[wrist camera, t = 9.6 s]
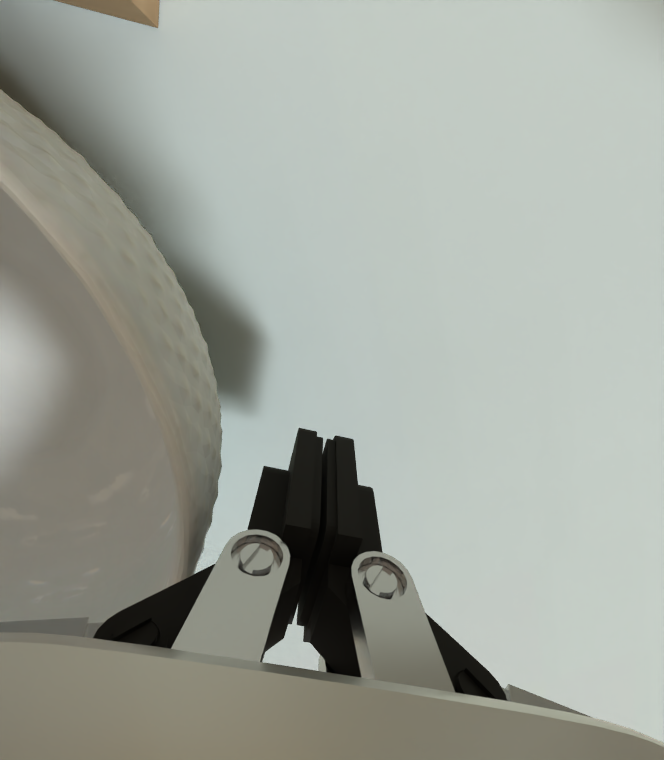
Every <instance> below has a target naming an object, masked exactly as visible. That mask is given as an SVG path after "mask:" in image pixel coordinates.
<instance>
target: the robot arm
mask: <svg viewBox="0 0 664 760" xmlns="http://www.w3.org/2000/svg"><path fill="white" fill-rule="evenodd" d="M322 451H323V438H321V437H317V432H316V431H311V430H307V429H302V428H299V429H298V433H297V437H296V441H295V445H294V449H293V453H292V457H291V461H290V465H289V469H288V471H286V470H281V469H277V468H272V467H267V466H264V468H263V471H262V475H261V479H260V483H259V487H258V491H257V495H256V499H255V503H254V507H253V510H252V514H251V518H250V522H249V526H248V530H246V531H243V532H240V533H238V534H236V535H235V536H233V537H231V539H230V540H229V541H228V542H227V544H226V545H225V547H224V549H223V551H222V553H221V555H220V556H219V558H218V560H217V562H216V564H214V565H212V566H210V567H208V568H206V569H204V570H202V571H200V572H198V573H196V574H194V575H192V576H190V577H188V578H186V579H184V580H182V581H180V582H178V583H176V584H174V585H172V586H170V587H168V588H166V589H164V590H162V591H160V592H158V593H155V594H153V595H151V596H149V597H147V598H145V599H143V600H141V601H139V602H137V603H135V604H133V605H131V606H129V607H127V608H125V609H123V610H121V611H119V612H118V613H116V614H115V615H113V616H112V617H110V618H108V619H107V620H106V621H105V622H100V623H89V617H83V618H65V619H46V620H28V621H9V622H0V760H664V743H663V742H661V741H658V740H656V739H653V738H651V737H649V736H646V735H644V734H642V733H639V732H637V731H635V730H632V729H629V728H626V727H623V726H620V725H617V724H613V723H610V722H607V721H604V720H600V719H595V718H592V717H590V716H587V715H585V714H582V713H580V712H577V711H575V710H572V709H570V708H567V707H565V706H562V705H560V704H557V703H555V702H552V701H550V700H547V699H545V698H542V697H540V696H537V695H535V694H532V693H530V692H527V691H525V690H522V689H520V688H517V687H515V686H512V685H510V684H508V685H507V687H506V688H505V689H504V688H502V687H501V686H500V684H499V683H498V681H497V680H496V679H495V678H494V677H493V676H492V675H491V673H490V672H489V671H488V670H487V669H486V668H485V667H483V666H482V665H481V664H480V663H479V662H478V661H477V660H476V659H475V658H474V657H473V656H472V655H470V654H469V653H468V652H467V651H466V650H465V649H464V648H463V647H462V646H461V645H460V644H459V643H457V642H456V641H455V640H454V639H453V638H452V637H451V636H450V635H449V634H448V633H447V632H446V631H445V630H443V629H442V628H441V627H440V626H439V625H438V624H437V623H436V622H435V621H434V620H433V619H432V618H430V617H429V616H428V615H427V614H426V613H425V611H424V608H423V606H422V603H421V600H420V598H419V595H418V592H417V590H416V587H415V584H414V582H413V579H412V577H411V575H410V573H409V572H408V570H407V569H406V568H405V567H404V565H403V564H402V563H401V562H399V561H398V560H397V559H395V558H394V557H392V556H390V555H387V554H385V553H382V546H381V540H380V533H379V526H378V519H377V512H376V506H375V499H374V492H373V489H372V488H371V487H366V486H361V485H358V481H357V471H356V460H355V450H354V440H353V439H349V438H345V437H340V436H335V437H334V439H333V440H331V439H327V441H326V444H325V447H324V451H323V454H322ZM297 605H298V614H297V625H300V626H304V639H303V642H309V643H311V644H312V645H313V646H314V648H315V649H316V650H317V651H318V652H319V654H320V657H319V664H318V670H319V671H315V670H308V669H302V668H295V667H289V666H282V665H276V664H269V663H263V658H264V654H265V652H266V651H267V650H268V649H270V648H271V647H272V646H274V645H275V644H276V643H278V642H279V641H280V640H282V639H283V638H284V636H285V632H286V629H287V626H288V624H292V621H293V618H294V615H295V612H296V608H297Z"/></svg>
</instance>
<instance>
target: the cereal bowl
mask: <svg viewBox="0 0 664 760" xmlns="http://www.w3.org/2000/svg"><path fill="white" fill-rule="evenodd" d="M220 408H221V406H220V403H219V399H218V396H217V381H216V379H215V377H214V369H213V367H212V365H211V360H210V357H209V355H208V345H207V343H206V342H205V340H204V339H203V337H202V333H201V331H200V327H199V324H198V322H197V321H196V319H195V314H194V310H193V309H192V307H191V306H190V305H189V303H188V301H187V298H186V295H185V293H184V291H183V290H182V288H181V287H180V285H179V284H178V282H177V279H176V276H175V273H174V271H173V270H172V269H171V268H170V267H169V266H168V265H167V263H166V261H165V258H164V257H163V255H162V254H161V253H160V252H159V250H158V249H157V247H156V246H155V243H154V241H153V239H152V236H151V235H150V234H149V233H148V232H147V231H146V230H145V229H144V228H143V227H142V226H141V225H140V223H139V221H138V219H137V218H136V217H135V215H134V214H133V213H132V212H131V211H130V210H129V209H128V208H127V207H126V206H125V204H124V202H123V201H122V199H121V198H120V196H119V195H118V194H117V193H116V192H115V191H113V190H112V189H111V188H110V187H109V186H108V185H107V184H106V183H105V182H104V181H103V180H102V179H101V178H100V177H99V175H98V174H97V173H96V171H94V170H93V169H92V168H91V167H90V166H89V164H88V163H87V162H86V160H85V159H84V157H83V156H82V155H80V154H79V153H78V152H76V151H75V150H73V149H72V148H71V147H69V146H68V145H67V144H66V143H65V142H64V141H63V140H62V139H61V138H60V136H59V135H58V134H57V133H56V132H55V131H53V130H51V129H50V128H48V127H47V126H46V125H45V124H44V123H43V122H42V120H40V119H39V118H37V117H35V116H34V115H32V114H31V113H29V112H28V111H26V110H25V109H24V108H23V107H22V106H21V105H20V104H19V103H17V102H16V101H14V100H12V99H11V98H10V97H9V96H8V95H7V94H6V93H4V92H3V91H2V90H1V89H0V622H9V621H28V620H46V619H65V618H83V617H89V623H100V622H105V621H106V620H107V619H108V618H110V617H112V616H113V615H115V614H116V613H118V612H119V611H121V610H123V609H125V608H127V607H129V606H131V605H133V604H135V603H137V602H139V601H141V600H143V599H145V598H147V597H149V596H151V595H153V594H155V593H158V592H160V591H162V590H164V589H166V588H168V587H170V586H172V585H174V584H176V583H178V582H180V581H182V580H184V579H186V578H188V577H190V576H192V575H194V574H195V571H196V567H197V564H198V562H199V559H200V557H201V555H202V552H203V549H204V543H205V538H206V534H207V532H208V530H209V528H210V526H211V522H212V513H213V506H214V504H215V501H216V499H217V496H218V479H219V476H220V472H221V467H222V464H221V454H220V452H221V443H222V429H221V425H220V423H221V413H220Z"/></svg>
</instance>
